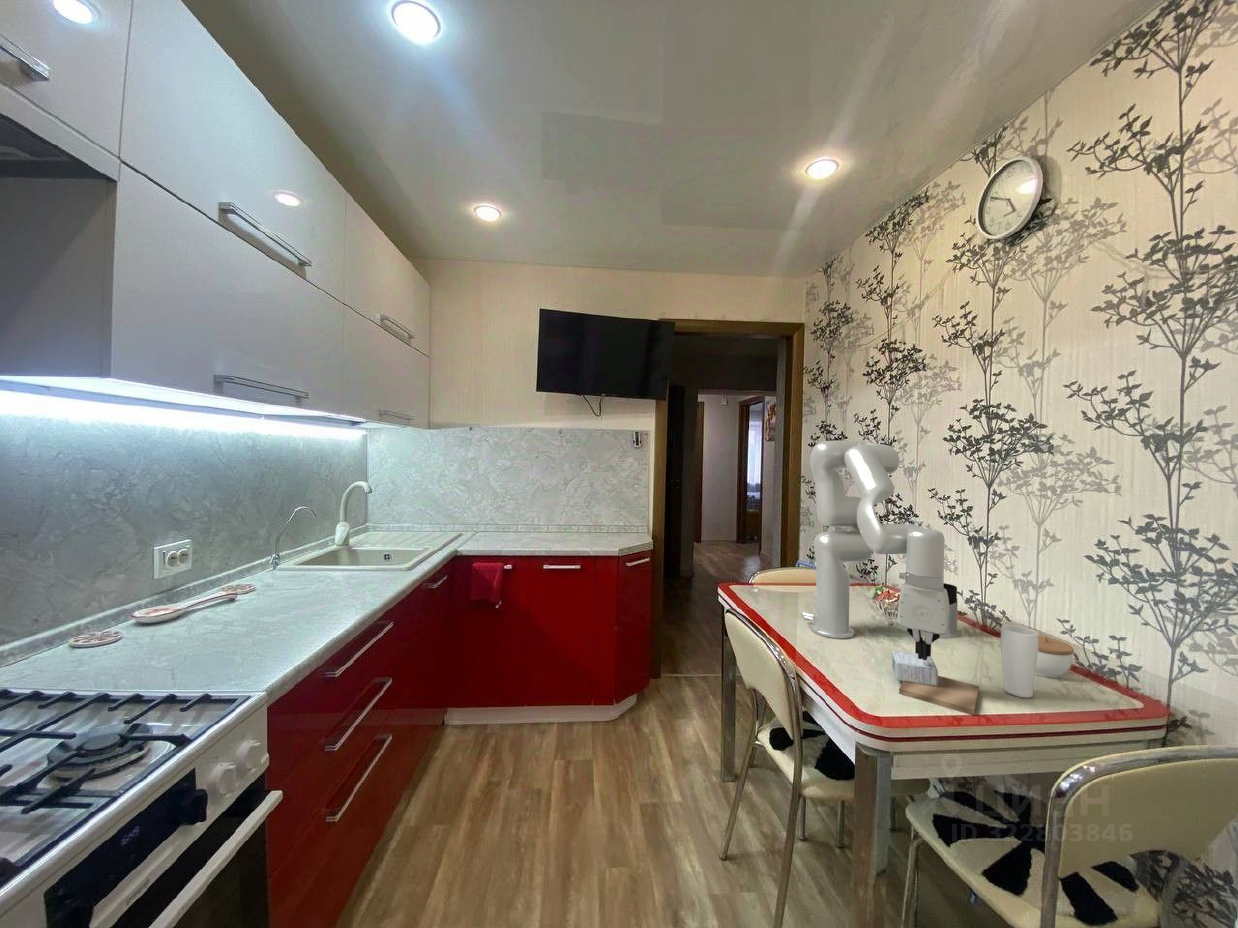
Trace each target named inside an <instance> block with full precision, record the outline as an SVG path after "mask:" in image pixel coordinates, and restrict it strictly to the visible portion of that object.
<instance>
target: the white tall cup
mask: <svg viewBox="0 0 1238 928" xmlns="http://www.w3.org/2000/svg"><path fill="white" fill-rule="evenodd" d="M1038 636H1039V633H1038V631H1037V630H1034V629H1032V628H1029V627H1025V626H1021V625H1014V624H1004V625H1003V624H1002V625H1001V629H1000V654H1001V665H1002V667H1001V668H1002V681H1003V683H1002V687H1003V690H1004V691H1005V692H1007V693H1008V694H1009V695H1011V696H1014V697H1017V698H1024V699H1030V698H1032V697H1033V696H1034V684H1035V677H1036V674H1035V671H1036V664H1037V657H1038V646H1039V640H1038Z"/></svg>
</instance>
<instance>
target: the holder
mask: <svg viewBox="0 0 1238 928" xmlns="http://www.w3.org/2000/svg"><path fill="white" fill-rule="evenodd" d="M943 588H944V589H946V590H947V594H948V599H949V609H950V627H949V630H950V633H951V637H950V639H956V638H959V633H958V587H957V585H956V586H955V585H954V584H949V583H944V586H943Z"/></svg>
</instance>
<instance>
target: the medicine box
mask: <svg viewBox="0 0 1238 928" xmlns="http://www.w3.org/2000/svg"><path fill="white" fill-rule="evenodd" d="M891 655H892V656H891V668H892V670H893V675H894V679H896V680H897V681H901V682H903V681H907V682H913V683H919V684H925V685H931V686H938V676H939V673H938V672H939V671H938V668H937V665H936V664H935V661H934V660H933V658H932V656H930V657H929V656H928V658H927V660H926V661H925V660H923V659H918V654H916V653H911V652H904V651H899V650H892V654H891Z"/></svg>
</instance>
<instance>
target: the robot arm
mask: <svg viewBox="0 0 1238 928" xmlns="http://www.w3.org/2000/svg"><path fill="white" fill-rule="evenodd" d="M809 464H810V466H809V467H810V470H811V474H812V477H813V481H814V486H815V504H816V507H815V508H816V516H817V519H818V523H820V524H821V525H822V526H824V527H833V528H834V527H842V528H843V527H848V530H828V531H823V532H820V533H818V534H817V535H816V536H815V537H814V540H813V552H814V556H815V557H814V558H815V565H816V567H815V568H816V573H815V574H816V577H815V578H816V582H815V584H816V586H815V587H816V588H815V589H816V590H815V591H816V592H815V593H816V595H815V596H816V597H815V613H814V612H813V613H810V612H806V611H804V612H803V613H802V618H803V620H804V621H809V622H811V623H810V627H809V628H810V630H811V631H812V632H813V633H815V634H817V635H819V636H822V637H827V638H832V639H849V638H852V637H854V635H855V629H854V628H852V627H851V626H850V586H851V585H850V582H851V581H850V574H849V572H848V570H847V569H846V568H845V566H844V563H846V562H850V563H851V562H864V561H867V560H869V559H870V558H871V556H872V555H873V553H876V554H878V555H906V562H905V563H906V567H905V569H906V571H905V572H899V573H898V578H899V579H901V580H904V583H902V584H901V587H900V592H899V599H898V610H897V628H898V629H899V630H902V631H904V632H907V633H908V634H909V635H910V636H911V638H913V641H914V642H915V644H914V645H915V647H914V648H915V651H914V652H915V653H914V654H918V659H923V660H925V661H926V660H927V658H928V656H929V657H930V656H931V655H932V643H934V642H936V641H937V640H939V639H941V640H950V639H951V638H950V637H951V633H950V630H949V627H950V609H949V599H948V594H947V590H946V589H944V588H943V586H944V581H945V580H944V579H945V576H944V575H945V573H944V571H945V535H944V534H943V532H941V531H940V530H937V529H931V528H924V527H922V526H920V525H917V524H913V523H902V524H901V523H881V521H880V520H879V517H878V515H877V512H876V510H875V505H877V504H879V503H880V504H881V502H884V501H885V500H888V498H890V497H891V496H892V495H893V494H894V493H895V485H894V483H893V481H892V479H891V478H890V476H889V475H891V474H894V473H895V472H896V471H897V470H898V469H899V466H900V456H899V454H898V452H897V450H895V449H894V448H893V447H892V446H890V445H888V444H881V443H877V442H871V441H863V440H824V441H821V442H818V443H816V444H815V445H814V446H813V447H812V449H811V452H810V457H809ZM836 469H847V471H848V472H849V474H850V476H851V479H852V480H853V482H854V485H855V487H856V489H857V491H858V492H859V495H860V496H861V497H859V496H846V492H845V483H844V480H843V478H842V476H841V474H840V473H839V472H838V471H837V470H836ZM922 632H924V633H926V636H925V638H923V636H922ZM931 657H932V656H931Z"/></svg>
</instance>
